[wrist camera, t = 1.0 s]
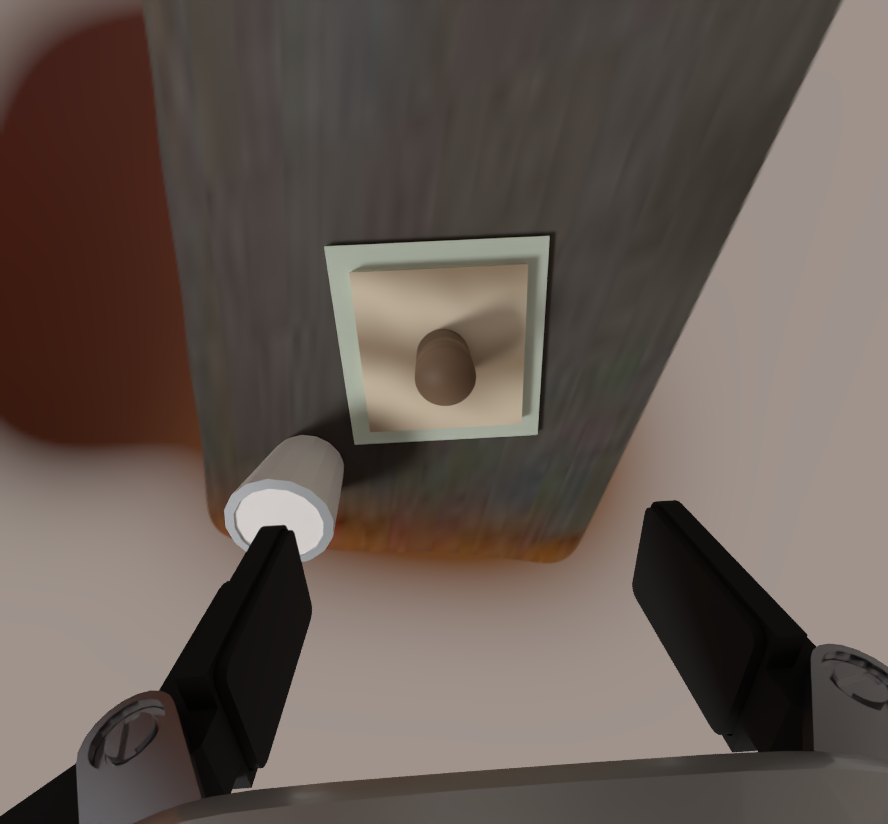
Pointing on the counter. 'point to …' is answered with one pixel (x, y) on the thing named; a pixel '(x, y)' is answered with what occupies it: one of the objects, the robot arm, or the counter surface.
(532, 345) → the mat
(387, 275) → the lid
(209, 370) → the counter surface
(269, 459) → the white cup
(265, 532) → the robot arm
